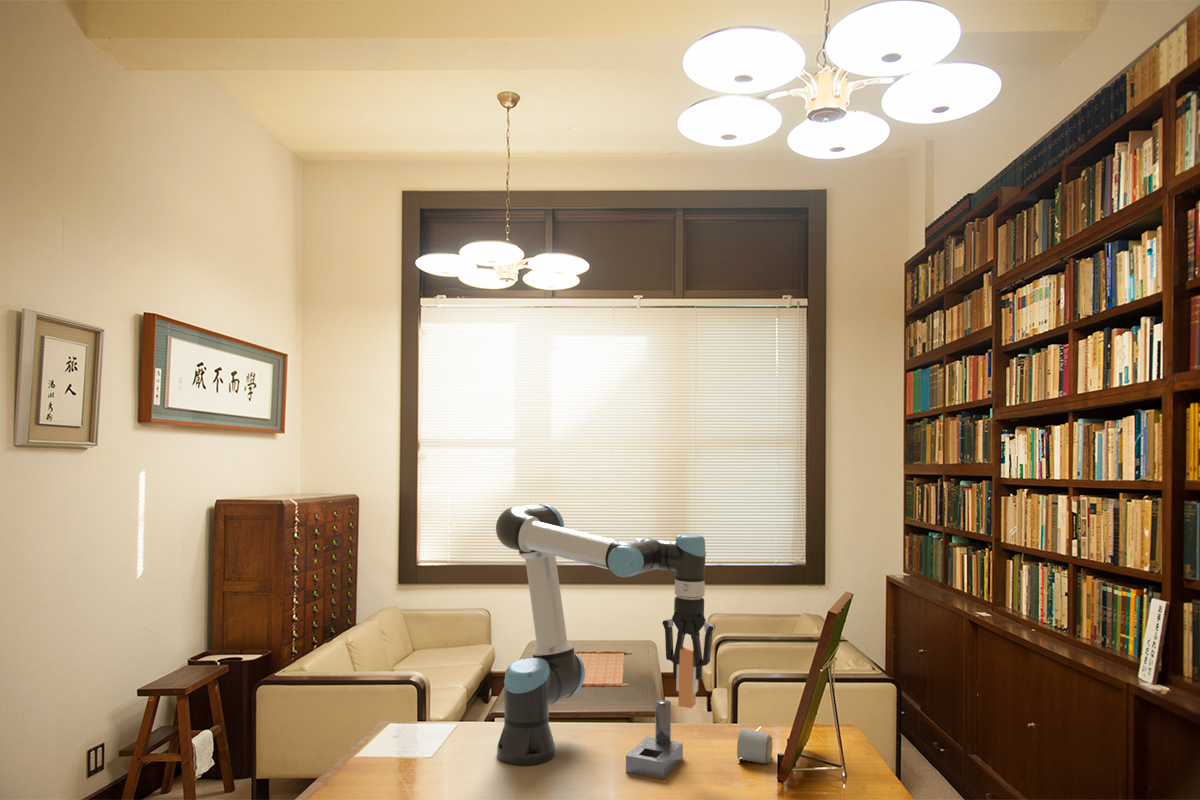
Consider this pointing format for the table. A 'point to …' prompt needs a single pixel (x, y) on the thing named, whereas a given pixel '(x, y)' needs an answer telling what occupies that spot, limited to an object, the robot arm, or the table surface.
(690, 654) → the salmon orange square bar
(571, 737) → the table surface
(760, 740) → the grey rounded box
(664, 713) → the grey socket base
